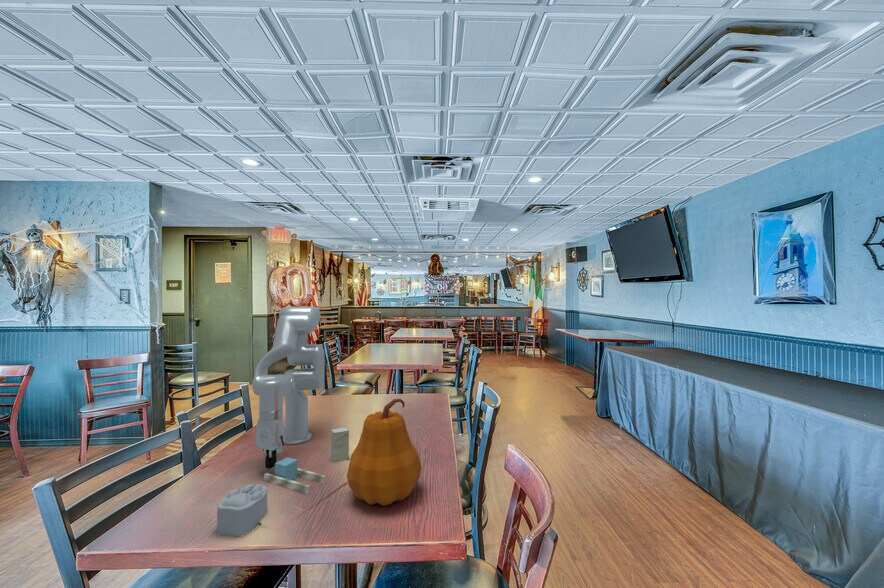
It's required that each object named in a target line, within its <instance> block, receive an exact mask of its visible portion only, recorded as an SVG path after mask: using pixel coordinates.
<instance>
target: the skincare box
mask: <svg viewBox="0 0 884 588" xmlns="http://www.w3.org/2000/svg"><path fill="white" fill-rule="evenodd" d="M349 440H350V430H349V428H348V427H347V426H346V427H339V428H333V429H330V460H331V462H332V463H336V462H342V461H347V462H348V461H349V462H350V459H349V458H350V457H349V456H350V455H349V451H350V449H349V447H350V441H349Z"/></svg>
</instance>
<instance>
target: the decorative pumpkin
mask: <svg viewBox="0 0 884 588" xmlns="http://www.w3.org/2000/svg"><path fill="white" fill-rule="evenodd" d="M397 403H400V404H402V408H405V401H403V399H401V398H396V399H395V398H394V399H392V400H391V401H390V402H388V403H387V404H385V406H384V407H383V410H382V411H376V412H374V413H370V414H369V415H367V416H366V418H365V420H364V422H363V426H362V431H361V434H360V437H359V440H358V442H357V445H356V447H355V448H354V450H353V452H352V453H351V456H350V459H349V464H348V469H347V473H346V478H347V482H348V483H347V484H348V487H349V489H350V490H351V491H352V493H353V494H354V496H356V498H357V499H359V500H361V501H364V502H366V503H367V504H368V505H371V506H373V505H375V504H379V505H380V506H383V507H385V506H390V505H391V504H393V503H394V502H401V501H403V500H404V499H406V498H407V497H409V496H410V494H411V492H412V491H413V490H414V488H415V486H416V484H417V482H418V481H419V479H420V476H421V472H422V471H421V470H422V464H421V463H422V462H421V459H420V454H419V451H418V449H417V448H416V446H415V445H414V444H413V442H412V439H411V438H410V435H409V432H408V429H407V425H406V421H405V418H404V417H403V415H402V414H400V413H399V412H398V411H394V412H392V410H390V409H391V408H392V407H394V405H396V404H397Z"/></svg>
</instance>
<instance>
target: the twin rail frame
mask: <svg viewBox="0 0 884 588" xmlns="http://www.w3.org/2000/svg"><path fill="white" fill-rule="evenodd" d="M298 477H299V478H302V479H306V480H309V481H312V482H316V483H319V484H325V483H327V481H326V479H327V477H326V474H325V475H324V474H322V473H321V474H320V473H318V472H313V471H310V470H306V469H302V468H298V467H297V478H298ZM263 481H264V482H267V483H270V484H272V485H275V486H279V487H283V488H285V489H288V490H293V491H295V492H299V493H302V494H304V495H305V494H306V495H309V494H310V493H311V485H310V484H306V483H304V482H303V483H302V482H300V481H294V480H289V479H286V478H282V477H279V476H275V474H271V473H269V472H265V473H264V474H263Z"/></svg>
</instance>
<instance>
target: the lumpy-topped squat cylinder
mask: <svg viewBox="0 0 884 588" xmlns="http://www.w3.org/2000/svg"><path fill="white" fill-rule="evenodd" d="M216 507H217V509H216V510H217V512H216V515H217V517H216V522H217V523H216V534H217V533H218V534H220V535H219V536H229V535H230V537H233V536H235V538H239V537H238V536H241V537H243V536H242V535H244V536H246V535H245V534H247V533H249V532H250V533H252V532H253V531H254V530H255V529H257V528H258V527H259V526H260V525H262V522H260V521H261V520H263V518H265V516H266V515H267V513H268V488H267V486H266V485H265V484H262V483H261V484H260V483H255V484H252V483H251V484H247V485H245V486H244V487H241V488H234V489H231V490H230V491H229V492H228V494H227V496H225V497H224V498H223V499H222V500H221V501H219V502H218V503H217V505H216ZM258 525H259V526H258ZM257 526H258V527H257ZM256 527H257V528H256ZM253 529H254V530H253ZM252 530H253V531H252ZM251 531H252V532H251ZM250 533H249V534H250ZM218 534H217V535H218ZM247 535H248V534H247Z"/></svg>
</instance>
